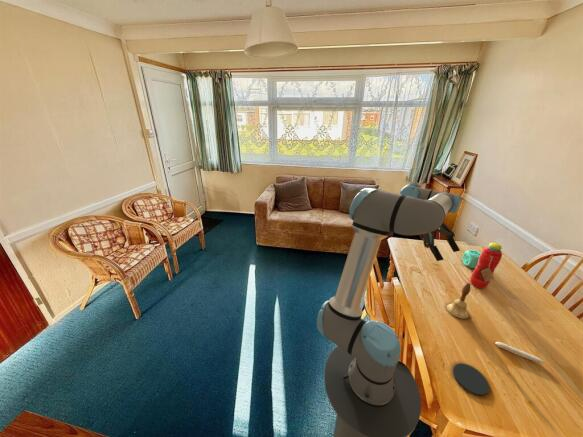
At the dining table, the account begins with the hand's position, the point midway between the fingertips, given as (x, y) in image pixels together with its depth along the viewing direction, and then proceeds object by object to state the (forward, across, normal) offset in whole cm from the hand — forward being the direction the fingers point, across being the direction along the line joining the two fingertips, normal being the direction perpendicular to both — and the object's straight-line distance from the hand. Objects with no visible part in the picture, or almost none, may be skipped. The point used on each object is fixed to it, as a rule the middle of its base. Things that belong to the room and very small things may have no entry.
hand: (448, 255), depth 102 cm
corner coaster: (+37, -28, -3) cm, 46 cm away
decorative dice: (+14, +41, +14) cm, 46 cm away
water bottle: (+23, +26, +12) cm, 37 cm away
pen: (+41, -2, -6) cm, 41 cm away
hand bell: (+25, 0, +10) cm, 27 cm away
